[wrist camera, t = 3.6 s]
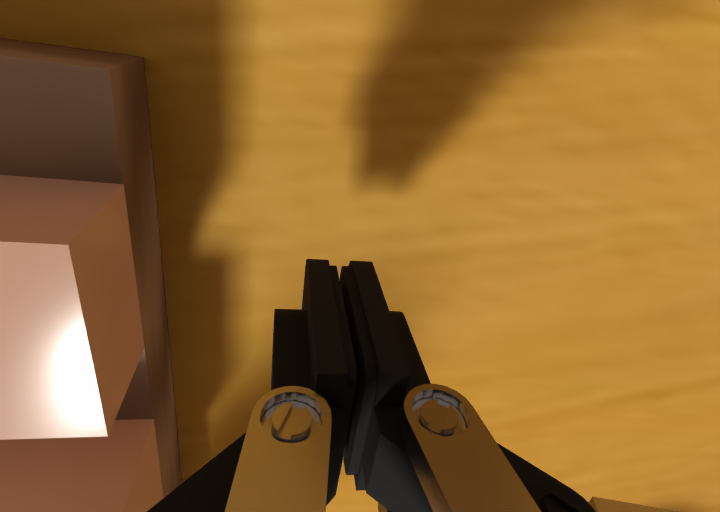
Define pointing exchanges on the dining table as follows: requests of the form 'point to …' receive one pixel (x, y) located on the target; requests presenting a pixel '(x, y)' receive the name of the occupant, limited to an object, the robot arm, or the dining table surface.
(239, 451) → the robot arm
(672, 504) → the dining table surface
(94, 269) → the tile
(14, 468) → the tile
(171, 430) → the board
